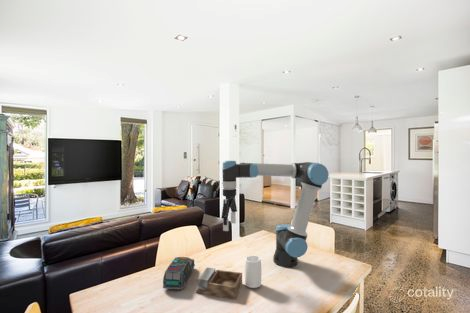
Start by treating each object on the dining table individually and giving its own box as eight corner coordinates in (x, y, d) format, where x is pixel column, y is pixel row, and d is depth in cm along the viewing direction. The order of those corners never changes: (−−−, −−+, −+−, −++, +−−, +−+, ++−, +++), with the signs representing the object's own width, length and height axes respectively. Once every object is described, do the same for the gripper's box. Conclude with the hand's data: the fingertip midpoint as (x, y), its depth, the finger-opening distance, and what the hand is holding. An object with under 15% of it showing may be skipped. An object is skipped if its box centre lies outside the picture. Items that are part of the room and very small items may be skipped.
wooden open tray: (242, 283, 126) (242, 271, 126) (235, 299, 112) (235, 285, 112) (206, 278, 131) (206, 266, 131) (196, 292, 117) (196, 279, 117)
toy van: (195, 268, 142) (195, 251, 142) (182, 292, 118) (182, 272, 117) (177, 267, 143) (177, 251, 143) (161, 291, 119) (161, 271, 118)
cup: (242, 283, 126) (242, 256, 125) (256, 280, 129) (256, 254, 128) (249, 292, 118) (249, 263, 117) (264, 288, 121) (264, 260, 121)
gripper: (229, 185, 145) (229, 219, 145) (214, 192, 121) (215, 233, 121) (241, 185, 143) (241, 220, 143) (229, 192, 119) (229, 234, 119)
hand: (229, 226), depth 132 cm, fingers open, 13 cm apart
